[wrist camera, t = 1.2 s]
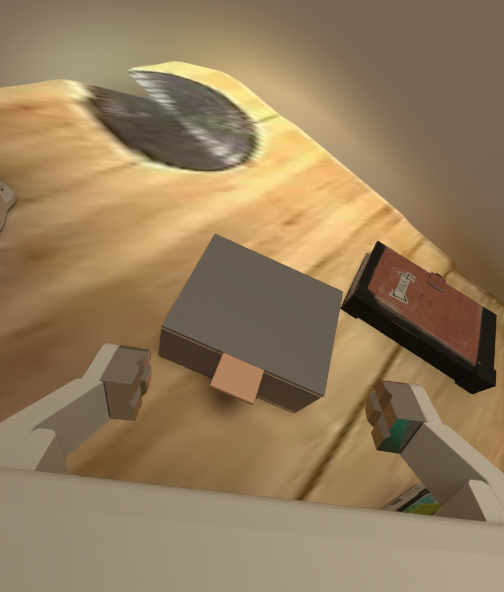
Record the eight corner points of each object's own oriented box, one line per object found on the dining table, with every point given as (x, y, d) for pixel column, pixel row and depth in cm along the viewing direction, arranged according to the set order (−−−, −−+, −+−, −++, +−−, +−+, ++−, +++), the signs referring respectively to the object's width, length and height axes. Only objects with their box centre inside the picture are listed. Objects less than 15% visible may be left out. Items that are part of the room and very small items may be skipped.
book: (476, 323, 65) (498, 311, 61) (469, 394, 55) (495, 386, 51) (365, 253, 67) (380, 237, 63) (338, 309, 57) (354, 295, 53)
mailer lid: (143, 359, 34) (143, 356, 33) (213, 237, 46) (215, 233, 45) (314, 431, 35) (317, 430, 34) (340, 294, 47) (343, 291, 46)
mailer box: (158, 355, 43) (161, 329, 36) (204, 271, 52) (213, 238, 46) (294, 413, 44) (320, 397, 37) (315, 320, 53) (339, 295, 47)
